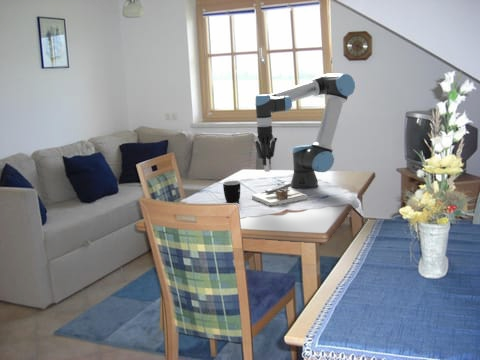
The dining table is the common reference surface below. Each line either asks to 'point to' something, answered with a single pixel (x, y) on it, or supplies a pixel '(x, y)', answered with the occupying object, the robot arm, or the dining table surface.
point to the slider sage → (281, 184)
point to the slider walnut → (282, 194)
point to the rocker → (277, 188)
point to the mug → (232, 191)
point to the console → (273, 200)
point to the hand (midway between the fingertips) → (267, 171)
